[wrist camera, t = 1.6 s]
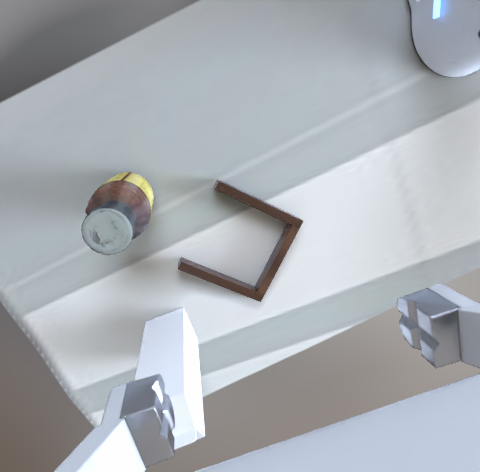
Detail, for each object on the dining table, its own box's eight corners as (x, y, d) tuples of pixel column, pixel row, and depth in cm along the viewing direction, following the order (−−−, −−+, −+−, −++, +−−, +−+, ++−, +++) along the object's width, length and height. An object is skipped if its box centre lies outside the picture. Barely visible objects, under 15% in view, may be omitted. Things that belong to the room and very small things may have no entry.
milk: (145, 320, 53) (120, 440, 32) (184, 306, 54) (184, 415, 33) (161, 354, 55) (147, 487, 34) (198, 339, 55) (207, 463, 34)
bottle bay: (217, 179, 49) (219, 181, 47) (299, 218, 53) (303, 221, 51) (177, 264, 52) (177, 269, 50) (258, 296, 55) (260, 302, 53)
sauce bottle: (104, 214, 48) (55, 264, 29) (108, 167, 47) (58, 188, 28) (154, 220, 49) (138, 272, 31) (159, 174, 48) (145, 200, 29)
